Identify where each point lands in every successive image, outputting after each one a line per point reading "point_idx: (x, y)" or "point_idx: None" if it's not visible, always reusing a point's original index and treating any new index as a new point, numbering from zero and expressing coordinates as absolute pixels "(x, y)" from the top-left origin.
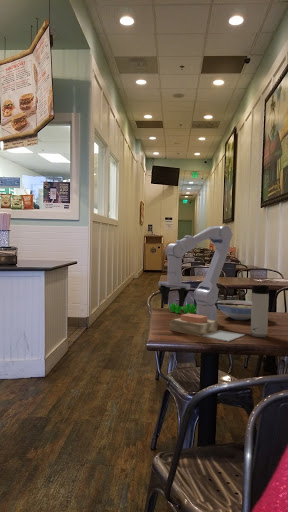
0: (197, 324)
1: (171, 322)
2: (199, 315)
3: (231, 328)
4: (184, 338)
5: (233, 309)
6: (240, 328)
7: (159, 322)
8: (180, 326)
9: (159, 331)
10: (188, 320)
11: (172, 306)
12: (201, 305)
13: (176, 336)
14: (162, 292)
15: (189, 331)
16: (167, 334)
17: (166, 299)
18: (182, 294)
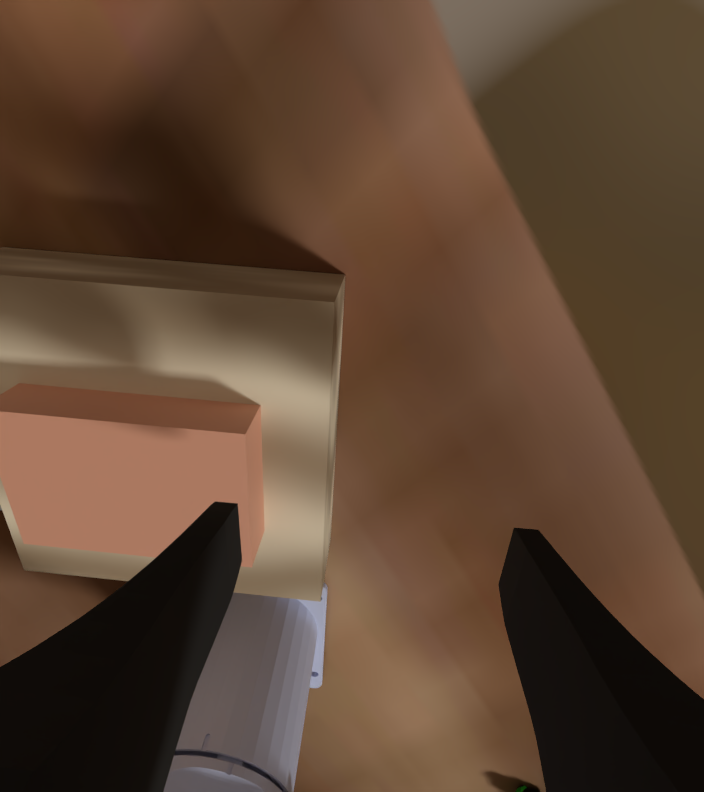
0: None
1: (311, 293)
2: (99, 533)
3: (71, 612)
4: (3, 23)
5: None
6: (40, 637)
7: (584, 499)
8: (195, 278)
9: (395, 141)
10: (153, 399)
11: None
12: (199, 747)
13: (118, 48)
14: (666, 720)
15: (100, 261)
16: (245, 63)
17: (529, 625)
18: (6, 669)
